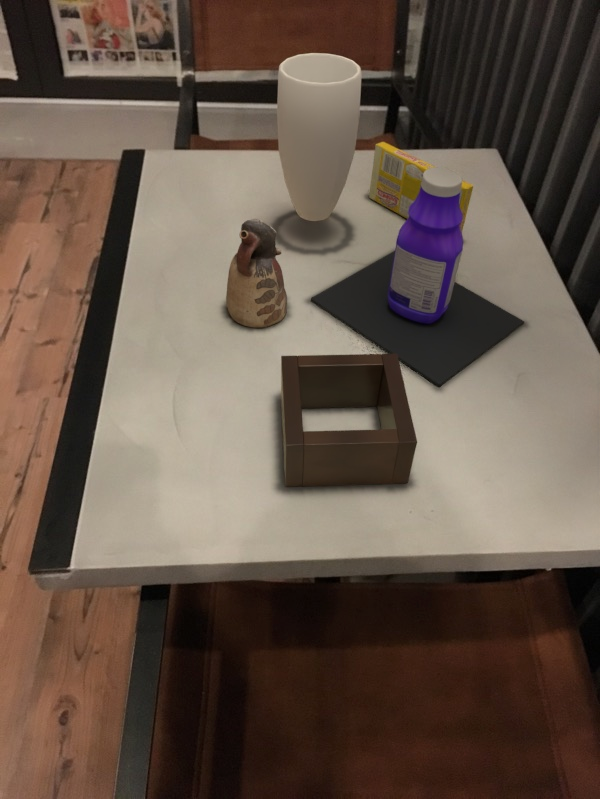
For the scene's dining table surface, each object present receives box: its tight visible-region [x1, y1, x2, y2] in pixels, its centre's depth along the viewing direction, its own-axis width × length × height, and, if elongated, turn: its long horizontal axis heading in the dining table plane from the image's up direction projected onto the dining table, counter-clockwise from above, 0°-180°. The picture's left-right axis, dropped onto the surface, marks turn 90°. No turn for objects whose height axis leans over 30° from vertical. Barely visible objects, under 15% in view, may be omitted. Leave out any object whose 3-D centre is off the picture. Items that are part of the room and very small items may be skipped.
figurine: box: [225, 218, 288, 328], centre depth 78 cm, size 7×7×12 cm
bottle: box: [388, 166, 464, 324], centre depth 76 cm, size 7×6×17 cm
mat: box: [310, 250, 525, 388], centre depth 82 cm, size 20×16×1 cm
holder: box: [280, 353, 418, 487], centre depth 66 cm, size 12×12×6 cm
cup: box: [276, 52, 363, 222], centre depth 86 cm, size 10×10×22 cm
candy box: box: [368, 141, 474, 234], centre depth 94 cm, size 16×2×8 cm, turn 41°
